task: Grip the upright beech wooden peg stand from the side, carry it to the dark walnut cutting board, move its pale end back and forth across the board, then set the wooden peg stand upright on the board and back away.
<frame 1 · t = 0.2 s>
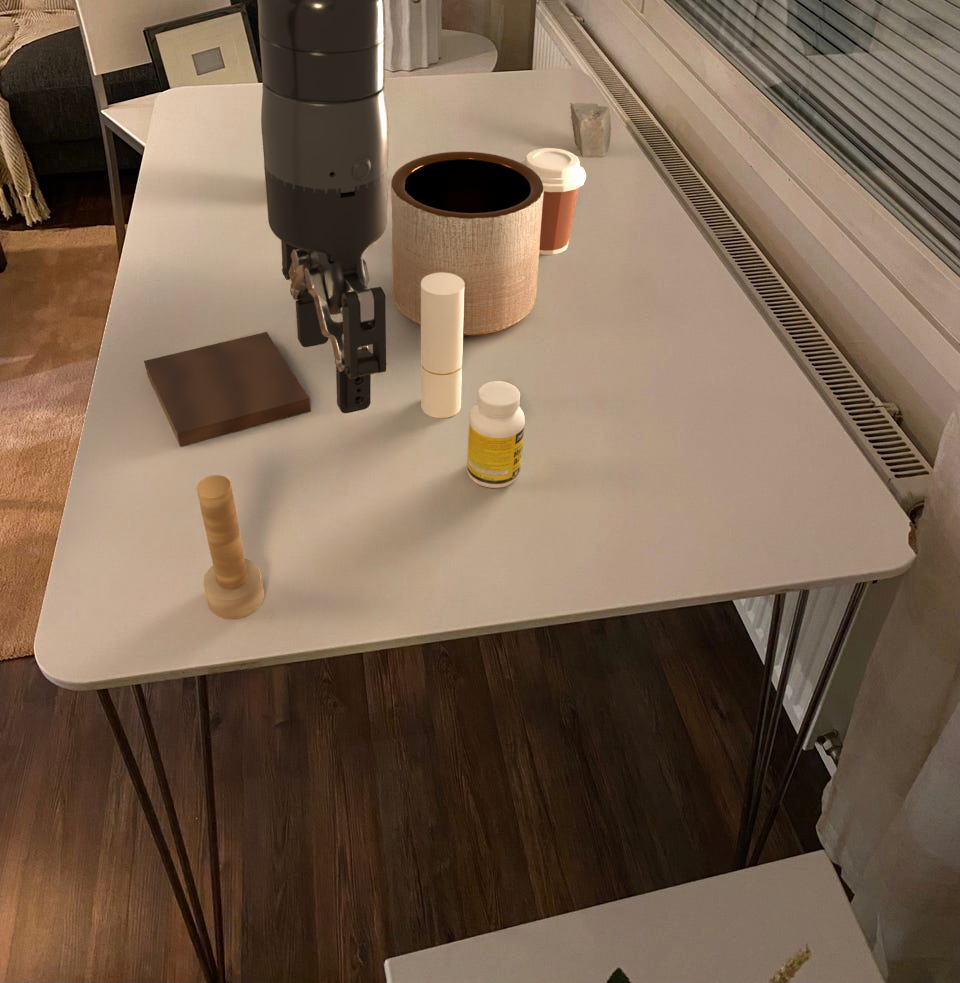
hand: (333, 374, 70), 23 cm above the table, tool pointing down, fingers open, 8 cm apart
coffee cup: (544, 244, 133), on the table
tube: (441, 407, 105), on the table
supplement bottle: (493, 473, 97), on the table
wooden peg stand: (236, 597, 83), on the table
apple: (312, 197, 141), on the table
board: (227, 392, 105), on the table
planter: (464, 303, 121), on the table
mineral specimen: (589, 154, 156), on the table
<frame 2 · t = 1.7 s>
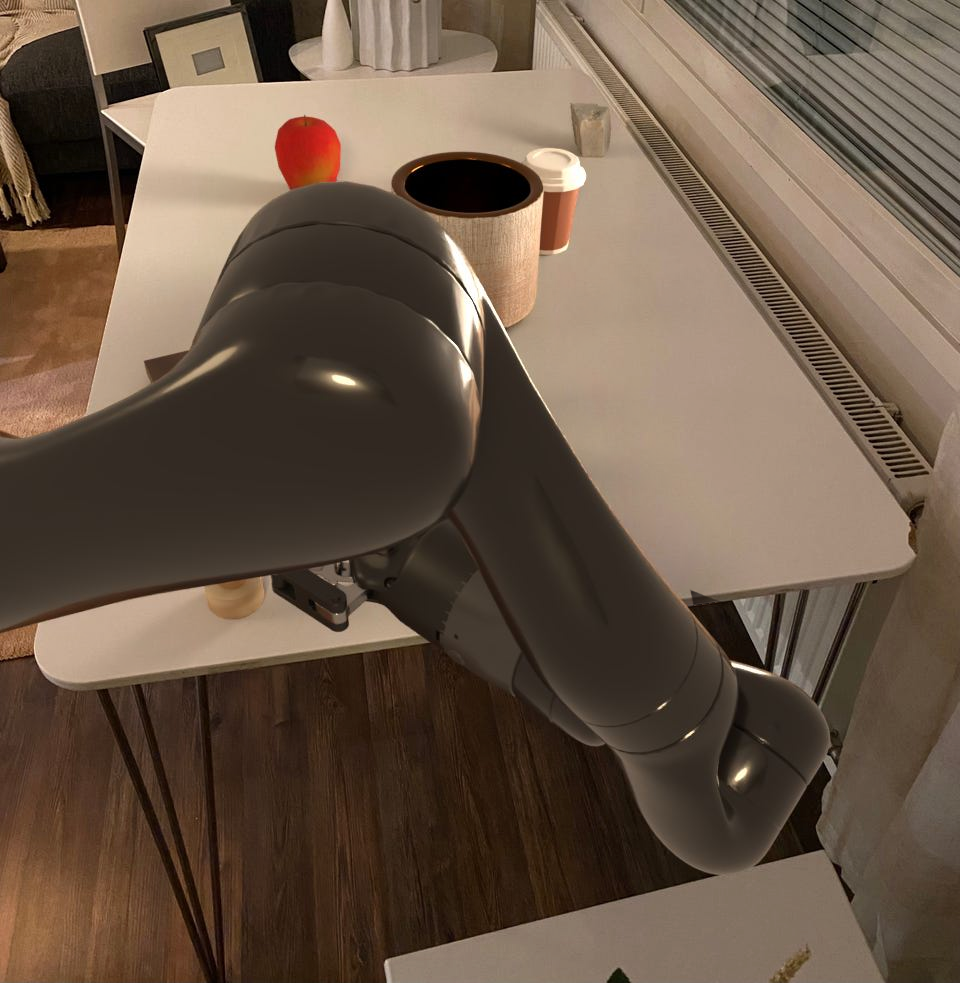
hand: (303, 484, 65), 20 cm above the table, tool horizontal, fingers open, 8 cm apart
nothing on the table moved.
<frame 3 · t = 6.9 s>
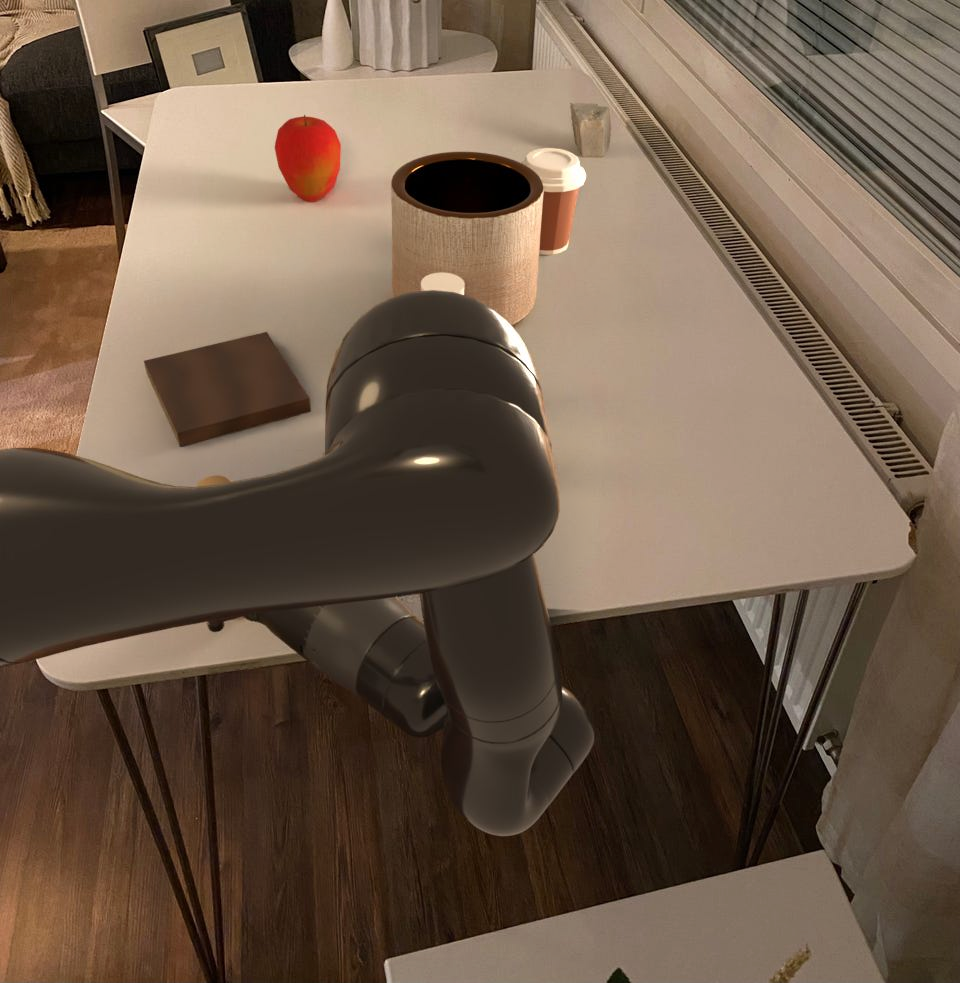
hand: (200, 517, 80), 8 cm above the table, tool horizontal, fingers closed on wooden peg stand, 2 cm apart
wooden peg stand: (236, 597, 83), on the table, touching gripper
everything else where it was.
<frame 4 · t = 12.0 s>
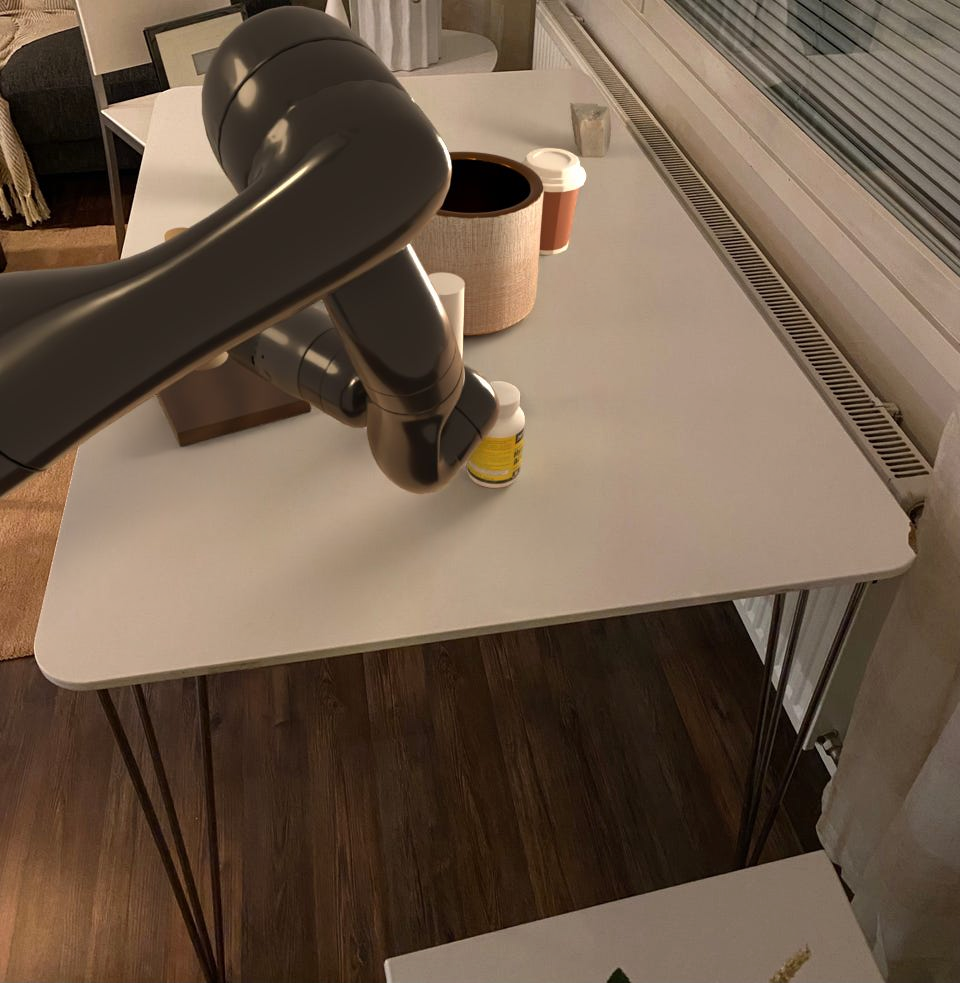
hand: (169, 274, 90), 17 cm above the table, tool horizontal, fingers closed on wooden peg stand, 2 cm apart
wooden peg stand: (203, 356, 94), point 9 cm above the table, touching gripper
everything else where it was.
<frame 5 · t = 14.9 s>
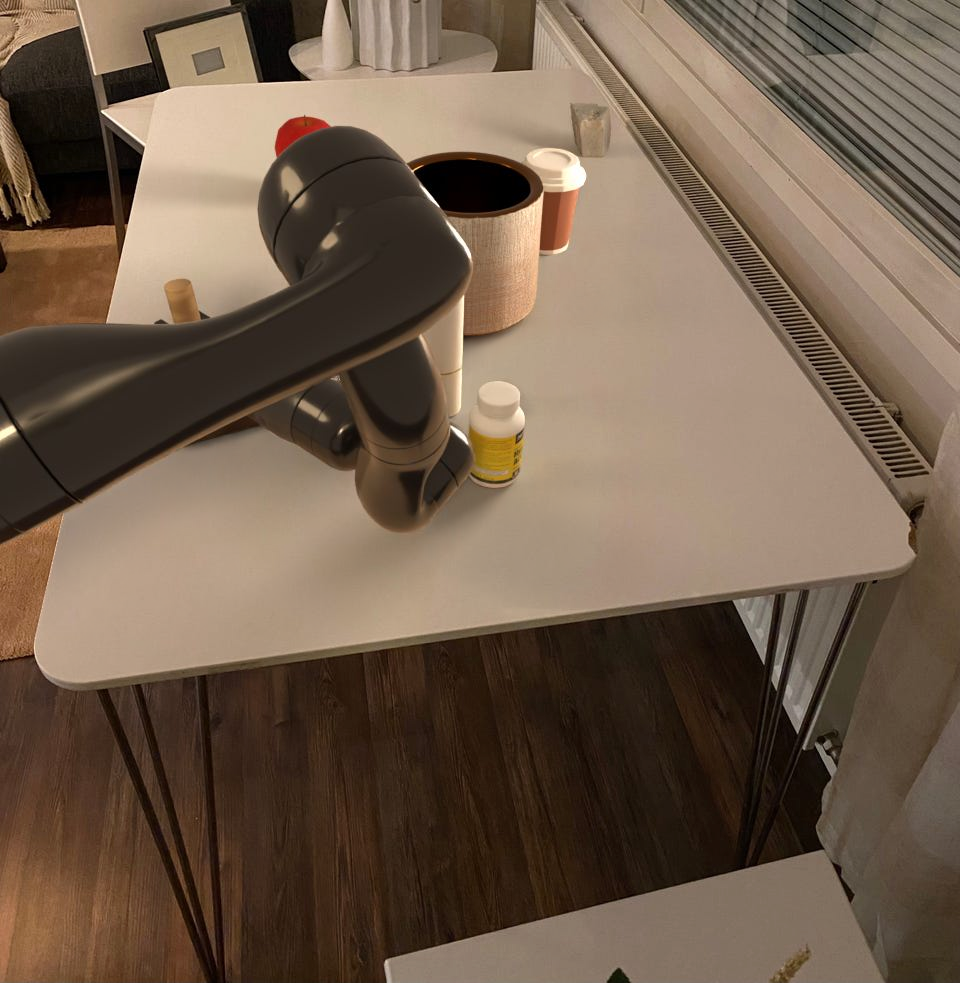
hand: (171, 322, 97), 10 cm above the table, tool horizontal, fingers closed on wooden peg stand, 2 cm apart
wooden peg stand: (208, 398, 101), point 2 cm above the table, tilted 7°, touching gripper
everything else where it was.
when the fingers open (9 cm above the table, at t = 17.5 s): wooden peg stand stays where it is, resting on board.
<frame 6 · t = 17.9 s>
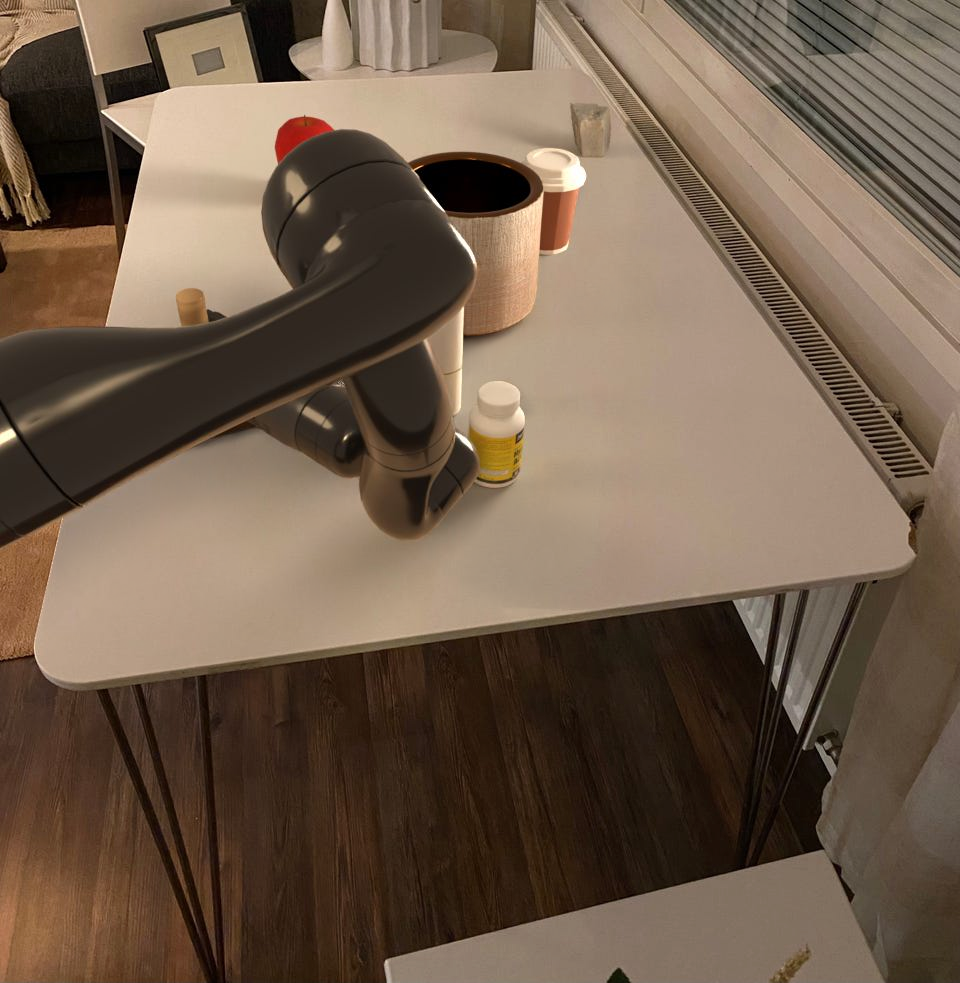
hand: (178, 331, 97), 9 cm above the table, tool horizontal, fingers open, 6 cm apart
wooden peg stand: (210, 404, 100), point 2 cm above the table, touching board
everything else where it was.
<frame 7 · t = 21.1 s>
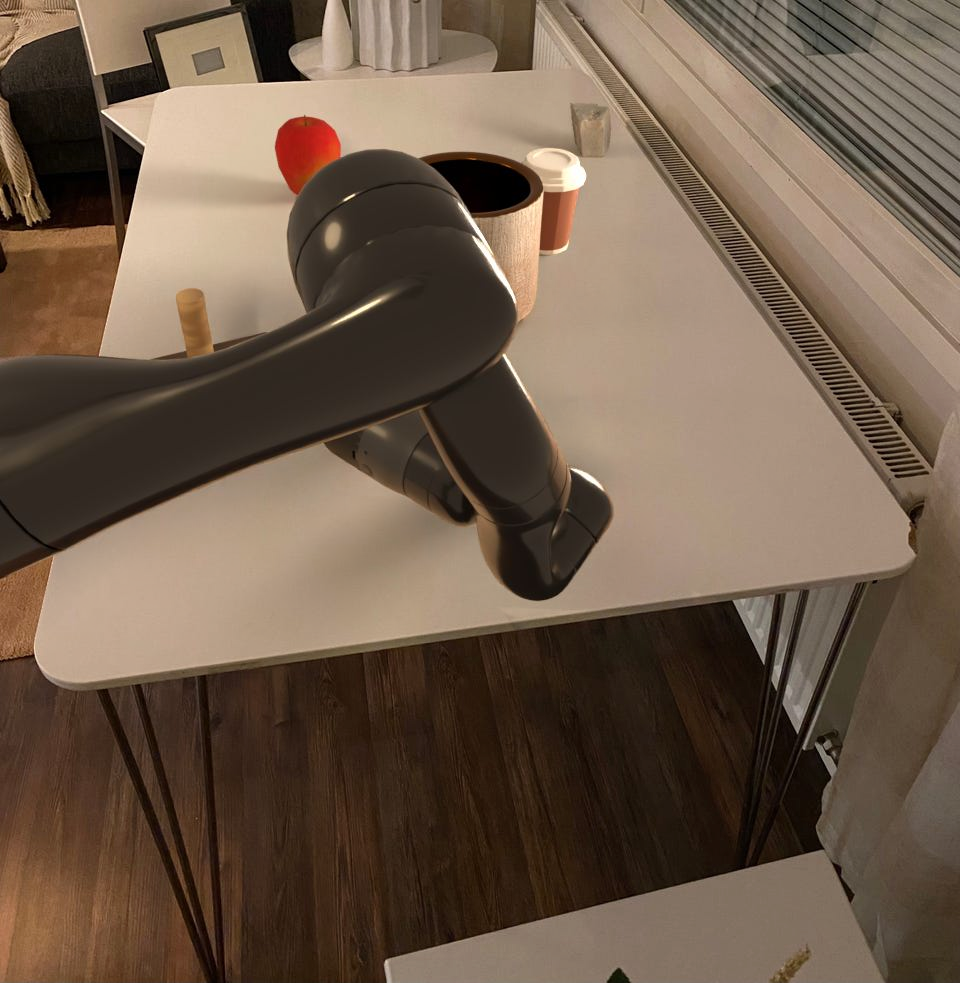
hand: (264, 361, 88), 12 cm above the table, tool horizontal, fingers open, 8 cm apart
nothing on the table moved.
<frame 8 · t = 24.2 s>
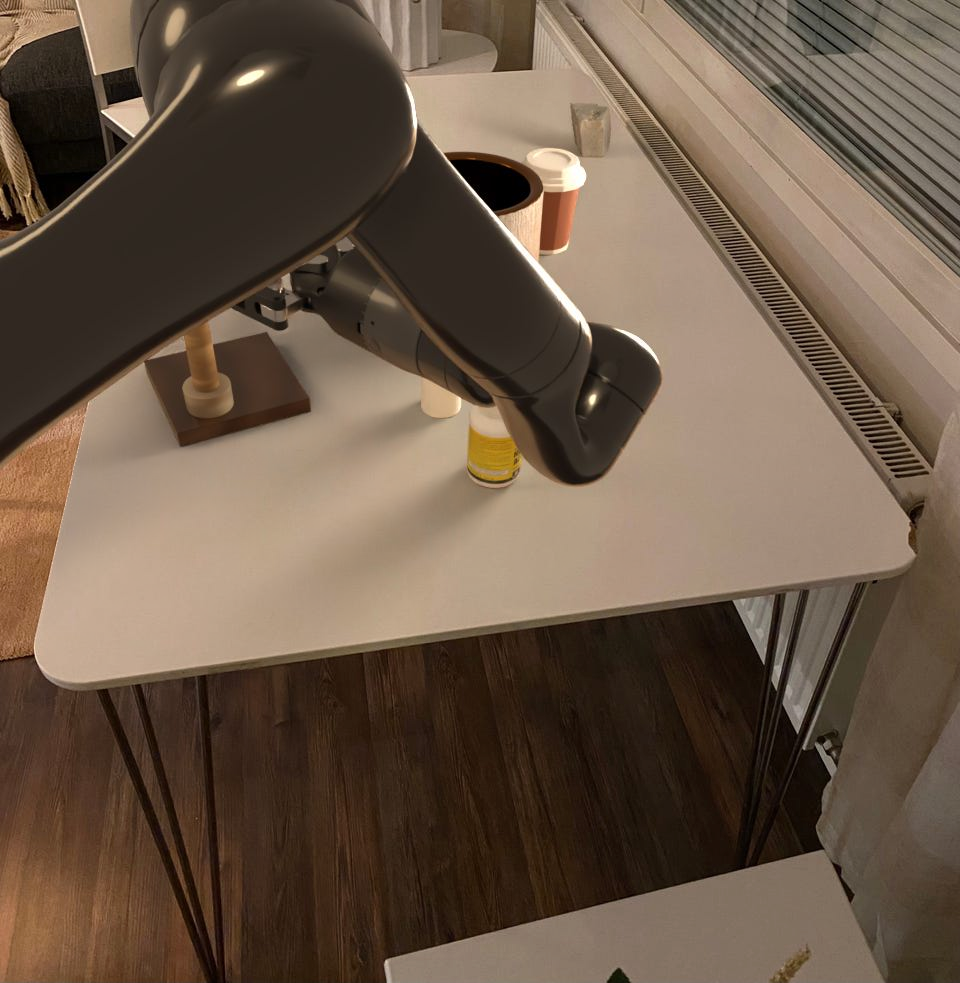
hand: (256, 236, 78), 26 cm above the table, tool horizontal, fingers open, 8 cm apart
nothing on the table moved.
at the end: wooden peg stand inside the target area on the board (4.6 cm from its centre), point 1.8 cm above the board's base; wooden peg stand tilted 0°; the gripper is holding nothing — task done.
